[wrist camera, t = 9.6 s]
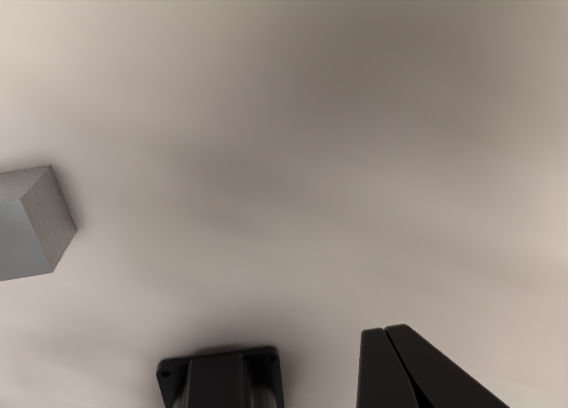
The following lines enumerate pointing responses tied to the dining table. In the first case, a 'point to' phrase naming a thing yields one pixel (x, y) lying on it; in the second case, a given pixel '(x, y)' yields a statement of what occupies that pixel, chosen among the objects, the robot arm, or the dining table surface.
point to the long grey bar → (32, 223)
